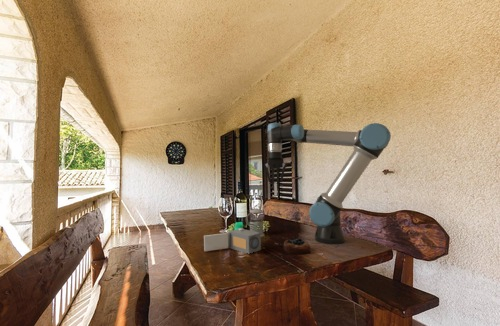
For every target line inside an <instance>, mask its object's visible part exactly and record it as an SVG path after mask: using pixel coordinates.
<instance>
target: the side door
mask: <svg viewBox="0 0 500 326" xmlns="http://www.w3.org/2000/svg"><path fill="white" fill-rule="evenodd" d="M222 249H231V248H230V233H229V232H224V233H216V234H215V233H214V234H209V235H208V234H205V235H203V251H204V252H210V251H216V250H222Z"/></svg>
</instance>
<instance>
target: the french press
mask: <svg viewBox="0 0 500 326" xmlns="http://www.w3.org/2000/svg"><path fill="white" fill-rule="evenodd" d="M253 195H254V196H257V195H258V192H254V193H253ZM262 213H264V212H263V210H262V209H259V208H253V209H251V210H249V215H252V214H262ZM245 218H246V220H245V222H246V224H248V226H249V231H254V232H259V233H261V238H262V237H265V235H266V234H265V233H264V226H263V225H264V221H263V217H257V216H254V217H251V218H250V221H249V219H248V218H249V216H248V215H246V216H245ZM248 222H249V223H248Z"/></svg>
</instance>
